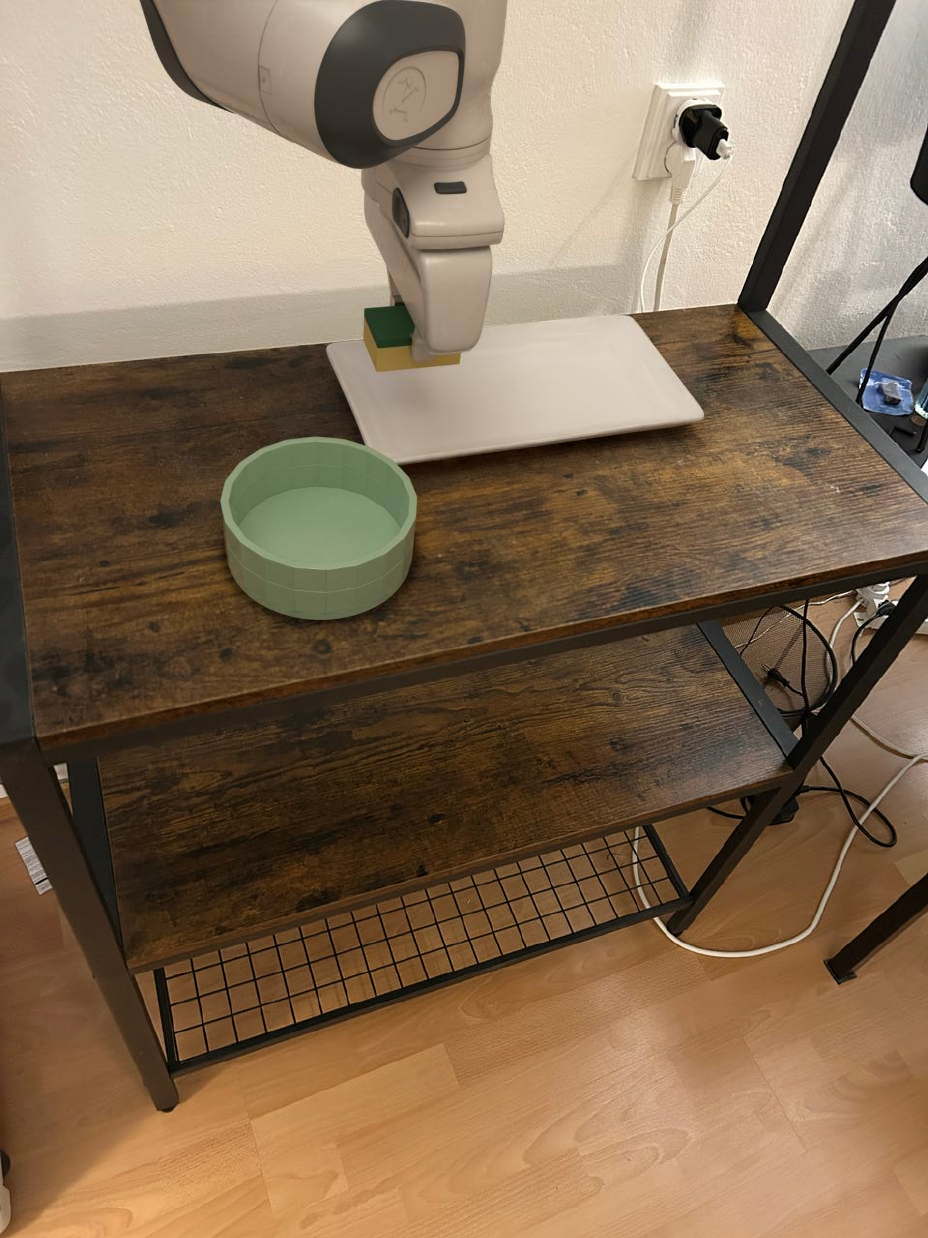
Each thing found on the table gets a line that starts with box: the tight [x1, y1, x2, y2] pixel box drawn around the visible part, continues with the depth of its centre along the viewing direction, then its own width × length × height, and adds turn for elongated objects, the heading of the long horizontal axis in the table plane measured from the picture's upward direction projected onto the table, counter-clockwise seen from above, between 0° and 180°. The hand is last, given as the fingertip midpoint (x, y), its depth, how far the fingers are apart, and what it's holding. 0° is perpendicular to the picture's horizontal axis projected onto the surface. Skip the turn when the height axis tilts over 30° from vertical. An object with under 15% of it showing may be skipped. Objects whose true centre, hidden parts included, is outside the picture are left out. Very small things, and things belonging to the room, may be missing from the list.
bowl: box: [219, 436, 418, 621], centre depth 73 cm, size 14×14×6 cm
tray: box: [325, 314, 705, 466], centre depth 89 cm, size 17×32×4 cm, turn 110°
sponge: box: [362, 305, 461, 372], centre depth 78 cm, size 7×4×3 cm, turn 108°
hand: (411, 335), depth 78 cm, fingers closed on sponge, 4 cm apart
